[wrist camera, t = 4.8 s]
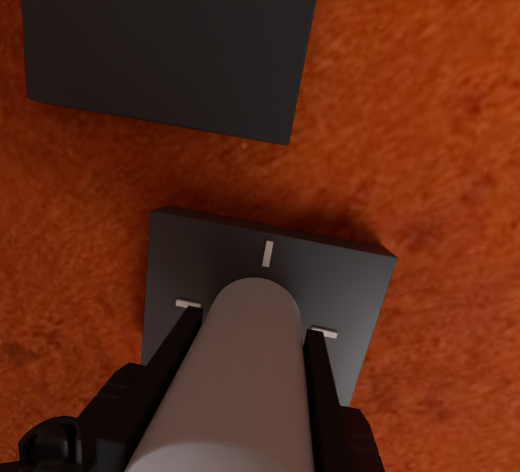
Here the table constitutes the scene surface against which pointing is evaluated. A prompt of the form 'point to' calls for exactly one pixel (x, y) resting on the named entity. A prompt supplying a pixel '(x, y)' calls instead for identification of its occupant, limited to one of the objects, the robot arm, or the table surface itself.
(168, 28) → the mat
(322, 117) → the table surface
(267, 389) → the oven dial
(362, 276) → the panel
